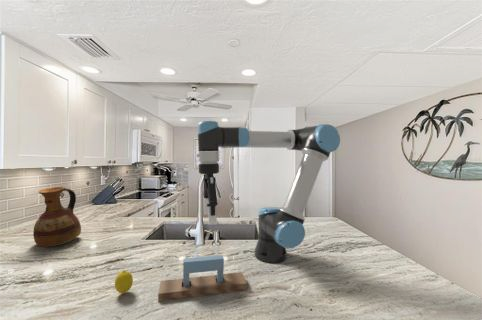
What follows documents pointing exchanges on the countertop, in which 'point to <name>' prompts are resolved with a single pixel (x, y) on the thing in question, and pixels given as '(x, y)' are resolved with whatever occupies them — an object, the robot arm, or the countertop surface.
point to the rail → (201, 286)
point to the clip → (203, 267)
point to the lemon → (123, 282)
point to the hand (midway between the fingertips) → (210, 218)
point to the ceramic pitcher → (56, 219)
